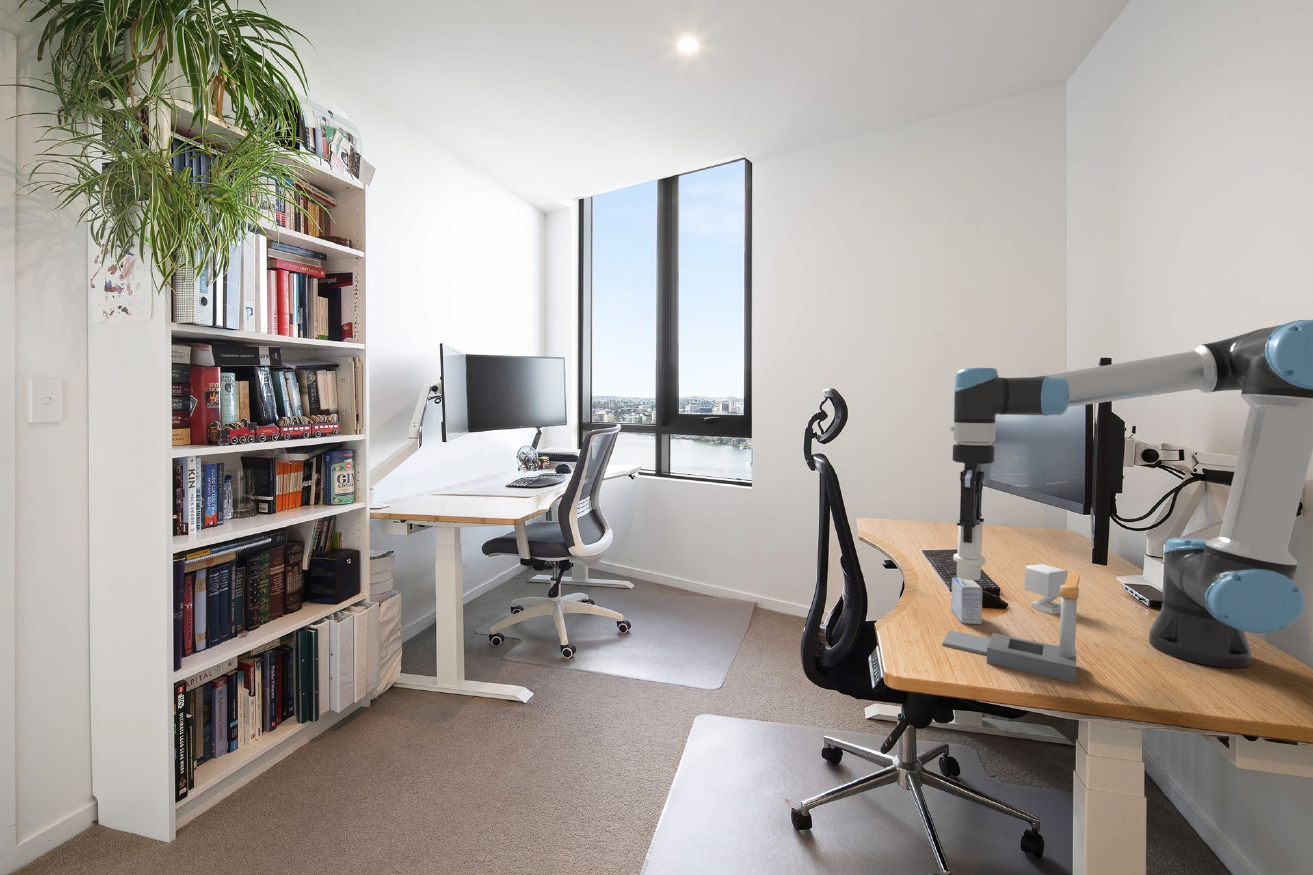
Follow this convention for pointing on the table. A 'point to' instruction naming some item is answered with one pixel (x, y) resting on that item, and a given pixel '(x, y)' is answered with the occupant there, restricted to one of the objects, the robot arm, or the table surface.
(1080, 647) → the table surface
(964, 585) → the medicine box
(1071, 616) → the grey post stand
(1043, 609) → the security camera
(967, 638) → the pad
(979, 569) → the plug
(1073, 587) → the tan long bar
